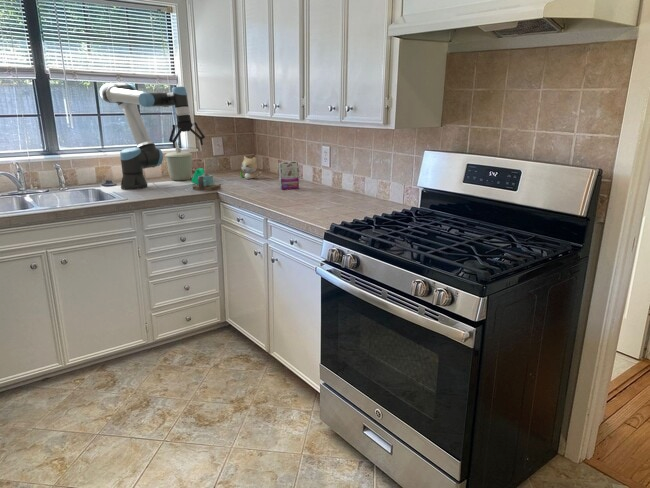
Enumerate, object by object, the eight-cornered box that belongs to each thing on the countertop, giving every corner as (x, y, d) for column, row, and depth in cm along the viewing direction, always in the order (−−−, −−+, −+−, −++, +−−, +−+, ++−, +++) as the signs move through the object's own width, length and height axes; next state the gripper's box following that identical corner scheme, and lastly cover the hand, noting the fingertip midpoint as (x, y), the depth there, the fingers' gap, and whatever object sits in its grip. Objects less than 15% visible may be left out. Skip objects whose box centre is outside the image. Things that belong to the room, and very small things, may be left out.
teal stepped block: (195, 188, 281) (194, 176, 279) (203, 183, 295) (202, 173, 293) (205, 188, 281) (204, 177, 279) (213, 183, 294) (212, 173, 292)
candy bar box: (296, 187, 298) (296, 160, 293) (299, 188, 294) (298, 161, 289) (278, 188, 294) (278, 161, 289) (281, 190, 290) (280, 162, 285)
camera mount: (214, 184, 309) (213, 168, 305) (206, 186, 302) (205, 169, 299) (199, 182, 314) (198, 166, 311) (191, 184, 307) (190, 168, 304)
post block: (192, 190, 288) (191, 173, 285) (198, 187, 298) (197, 170, 295) (215, 190, 287) (214, 173, 284) (220, 187, 296) (219, 171, 293)
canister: (177, 176, 333) (174, 145, 327) (200, 178, 328) (197, 146, 322) (161, 181, 317) (157, 148, 310) (184, 182, 312) (182, 149, 305)
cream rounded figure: (235, 178, 328) (234, 156, 323) (245, 176, 336) (245, 154, 331) (252, 180, 320) (251, 158, 315) (262, 178, 328) (261, 156, 323)
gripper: (159, 117, 272) (166, 155, 277) (204, 112, 275) (210, 150, 280) (162, 117, 279) (168, 154, 284) (205, 113, 282) (211, 149, 287)
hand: (189, 152), depth 282 cm, fingers open, 13 cm apart
